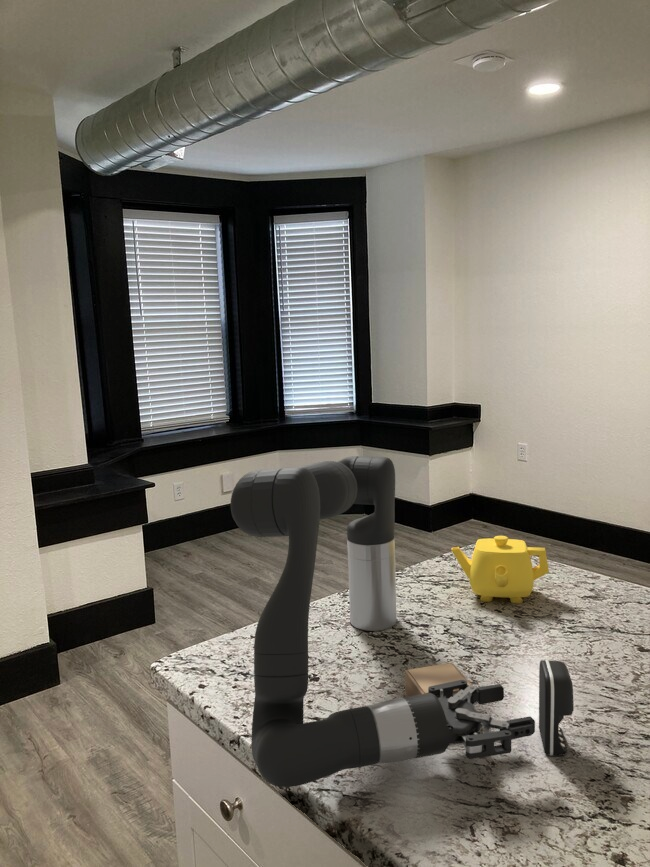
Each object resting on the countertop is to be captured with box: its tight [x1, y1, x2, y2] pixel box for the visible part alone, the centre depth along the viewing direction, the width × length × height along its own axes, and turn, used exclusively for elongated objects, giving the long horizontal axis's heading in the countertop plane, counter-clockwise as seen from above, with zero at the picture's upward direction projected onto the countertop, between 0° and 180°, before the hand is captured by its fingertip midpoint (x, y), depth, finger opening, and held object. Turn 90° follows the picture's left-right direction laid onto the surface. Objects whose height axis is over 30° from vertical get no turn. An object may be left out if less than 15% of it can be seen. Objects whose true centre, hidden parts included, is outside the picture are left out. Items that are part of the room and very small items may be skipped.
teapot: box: [451, 535, 550, 604], centre depth 148 cm, size 20×19×13 cm
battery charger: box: [538, 659, 575, 757], centre depth 98 cm, size 7×4×11 cm, turn 171°
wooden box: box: [404, 662, 473, 697], centre depth 108 cm, size 8×8×5 cm
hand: (517, 707), depth 96 cm, fingers open, 8 cm apart
